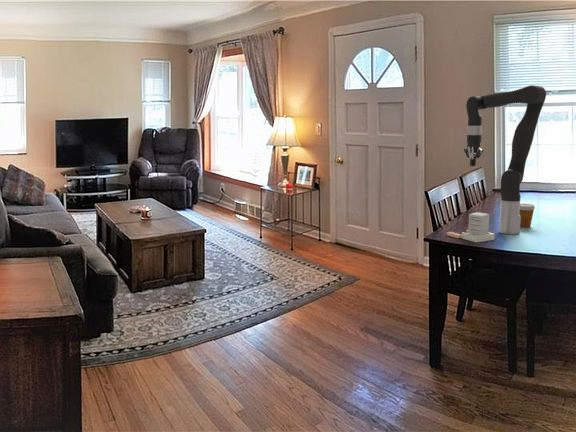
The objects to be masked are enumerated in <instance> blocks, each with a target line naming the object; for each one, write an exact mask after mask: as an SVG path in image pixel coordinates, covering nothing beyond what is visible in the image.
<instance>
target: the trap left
mask: <svg viewBox="0 0 576 432" xmlns="http://www.w3.org/2000/svg"><path fill="white" fill-rule="evenodd" d="M446 236H447V237H451V238H455V239H463V238H462V233H458V232H453V231H448V232H446Z"/></svg>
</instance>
